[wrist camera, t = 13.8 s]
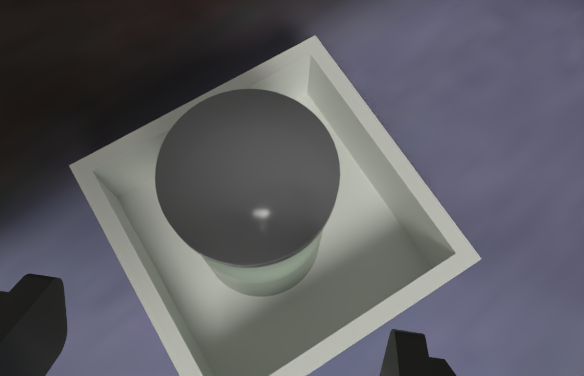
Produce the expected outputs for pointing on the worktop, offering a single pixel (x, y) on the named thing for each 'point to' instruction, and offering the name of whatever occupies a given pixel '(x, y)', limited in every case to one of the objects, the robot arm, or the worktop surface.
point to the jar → (250, 187)
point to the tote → (332, 250)
